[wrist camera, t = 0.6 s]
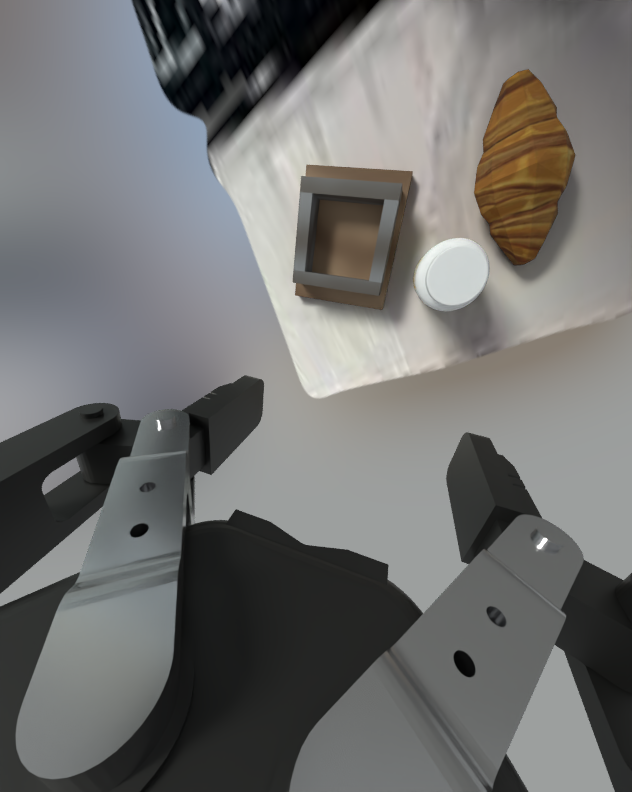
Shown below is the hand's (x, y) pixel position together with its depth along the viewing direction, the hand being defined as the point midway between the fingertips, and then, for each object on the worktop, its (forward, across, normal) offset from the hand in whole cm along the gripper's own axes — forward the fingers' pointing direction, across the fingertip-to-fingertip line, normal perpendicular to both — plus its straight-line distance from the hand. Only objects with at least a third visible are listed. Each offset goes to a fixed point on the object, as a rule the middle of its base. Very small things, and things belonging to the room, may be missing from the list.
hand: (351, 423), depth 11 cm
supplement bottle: (+24, -4, -6) cm, 24 cm away
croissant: (+24, -8, -14) cm, 28 cm away
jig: (+23, +6, -7) cm, 25 cm away
